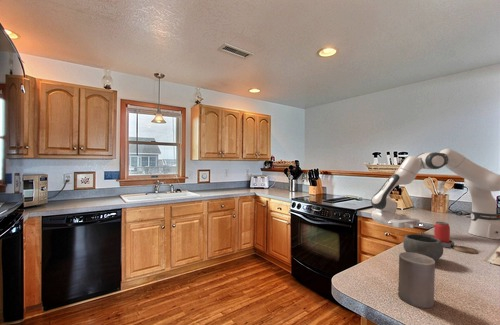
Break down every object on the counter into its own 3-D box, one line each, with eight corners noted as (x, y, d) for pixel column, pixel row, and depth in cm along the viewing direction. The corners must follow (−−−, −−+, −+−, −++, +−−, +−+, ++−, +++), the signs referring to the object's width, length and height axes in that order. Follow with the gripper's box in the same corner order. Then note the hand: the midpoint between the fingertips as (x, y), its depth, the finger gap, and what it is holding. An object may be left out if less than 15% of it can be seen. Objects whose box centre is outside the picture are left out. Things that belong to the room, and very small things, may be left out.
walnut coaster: (470, 248, 126) (470, 246, 126) (481, 254, 118) (481, 252, 118) (449, 246, 129) (449, 244, 129) (459, 252, 120) (459, 250, 120)
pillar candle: (391, 291, 83) (392, 248, 82) (418, 291, 83) (419, 247, 83) (412, 309, 73) (413, 260, 73) (442, 308, 73) (443, 259, 73)
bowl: (432, 269, 101) (432, 245, 101) (396, 256, 114) (396, 235, 114) (449, 262, 107) (450, 240, 107) (414, 251, 121) (414, 231, 121)
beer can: (446, 243, 133) (446, 222, 133) (451, 247, 127) (452, 224, 127) (432, 242, 136) (432, 220, 136) (437, 245, 129) (437, 223, 129)
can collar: (447, 242, 135) (447, 238, 135) (457, 248, 125) (457, 243, 125) (427, 241, 137) (427, 236, 137) (435, 246, 128) (435, 242, 128)
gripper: (385, 217, 151) (407, 222, 138) (405, 214, 159) (428, 219, 147) (385, 227, 151) (407, 233, 138) (405, 223, 159) (428, 229, 147)
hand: (418, 225), depth 142 cm, fingers open, 8 cm apart
